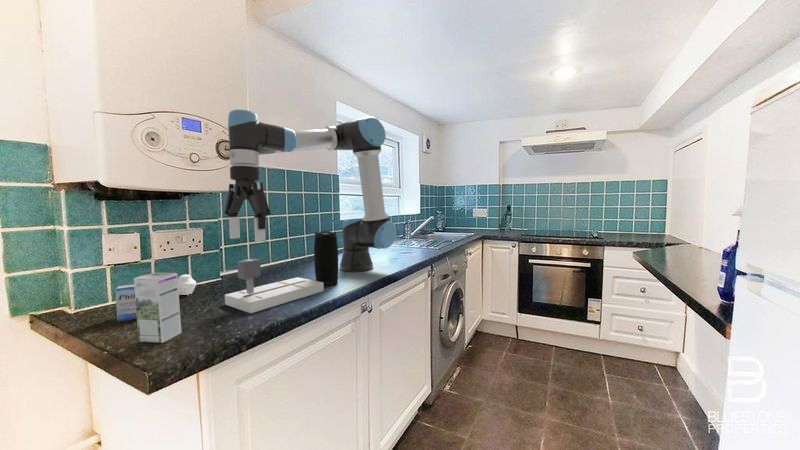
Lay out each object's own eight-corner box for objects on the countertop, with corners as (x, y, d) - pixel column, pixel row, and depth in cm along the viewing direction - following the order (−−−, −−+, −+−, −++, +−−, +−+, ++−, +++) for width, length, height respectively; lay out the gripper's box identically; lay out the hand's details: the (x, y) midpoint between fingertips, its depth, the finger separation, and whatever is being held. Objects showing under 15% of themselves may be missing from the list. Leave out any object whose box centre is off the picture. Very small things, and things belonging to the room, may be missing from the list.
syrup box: (182, 333, 73) (179, 271, 72) (161, 344, 67) (156, 277, 66) (160, 332, 73) (156, 271, 72) (136, 343, 67) (132, 277, 66)
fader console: (297, 285, 115) (297, 276, 114) (323, 290, 107) (323, 281, 106) (225, 304, 93) (224, 294, 93) (250, 313, 85) (250, 302, 85)
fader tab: (255, 290, 95) (253, 258, 95) (261, 291, 93) (260, 259, 93) (238, 294, 91) (237, 260, 91) (245, 296, 89) (243, 262, 89)
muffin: (197, 295, 103) (196, 274, 103) (174, 298, 100) (173, 277, 99) (196, 290, 108) (194, 271, 108) (174, 294, 105) (173, 273, 104)
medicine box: (116, 322, 80) (114, 289, 79) (120, 316, 84) (118, 285, 83) (155, 315, 84) (153, 284, 84) (157, 311, 88) (155, 281, 88)
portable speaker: (315, 288, 110) (313, 233, 109) (315, 281, 119) (313, 231, 118) (339, 286, 112) (338, 232, 111) (338, 280, 121) (336, 230, 120)
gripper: (210, 168, 94) (213, 238, 95) (256, 161, 80) (259, 243, 81) (235, 170, 100) (237, 236, 101) (282, 164, 86) (284, 240, 87)
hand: (247, 239), depth 91 cm, fingers open, 13 cm apart
